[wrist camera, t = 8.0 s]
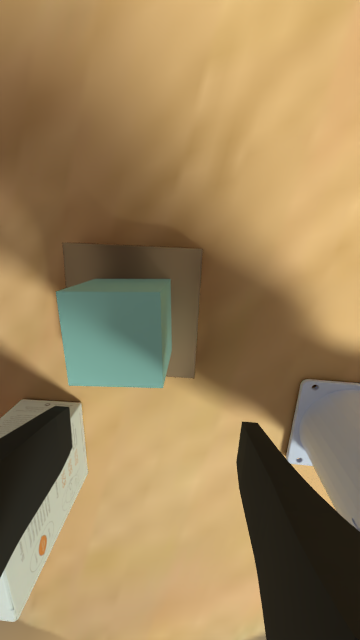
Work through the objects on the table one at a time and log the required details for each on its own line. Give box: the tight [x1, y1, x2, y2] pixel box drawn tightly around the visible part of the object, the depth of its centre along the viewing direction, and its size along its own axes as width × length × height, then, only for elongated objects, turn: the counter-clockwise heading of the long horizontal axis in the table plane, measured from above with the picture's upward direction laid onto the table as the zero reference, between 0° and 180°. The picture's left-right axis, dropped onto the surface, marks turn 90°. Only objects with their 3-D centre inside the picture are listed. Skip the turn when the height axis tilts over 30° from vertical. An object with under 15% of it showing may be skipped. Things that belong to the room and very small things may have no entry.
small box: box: [0, 399, 88, 621], centre depth 19 cm, size 8×6×10 cm
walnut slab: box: [63, 243, 203, 378], centre depth 19 cm, size 9×9×3 cm
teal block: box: [56, 279, 172, 388], centre depth 15 cm, size 5×5×5 cm
